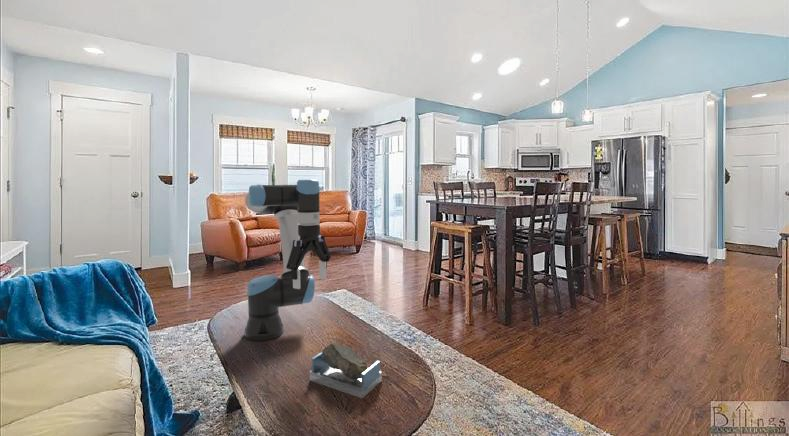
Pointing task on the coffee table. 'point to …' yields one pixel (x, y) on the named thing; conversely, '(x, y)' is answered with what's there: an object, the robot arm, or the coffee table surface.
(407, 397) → the coffee table surface
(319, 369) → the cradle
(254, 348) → the coffee table surface
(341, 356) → the rock
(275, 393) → the coffee table surface
